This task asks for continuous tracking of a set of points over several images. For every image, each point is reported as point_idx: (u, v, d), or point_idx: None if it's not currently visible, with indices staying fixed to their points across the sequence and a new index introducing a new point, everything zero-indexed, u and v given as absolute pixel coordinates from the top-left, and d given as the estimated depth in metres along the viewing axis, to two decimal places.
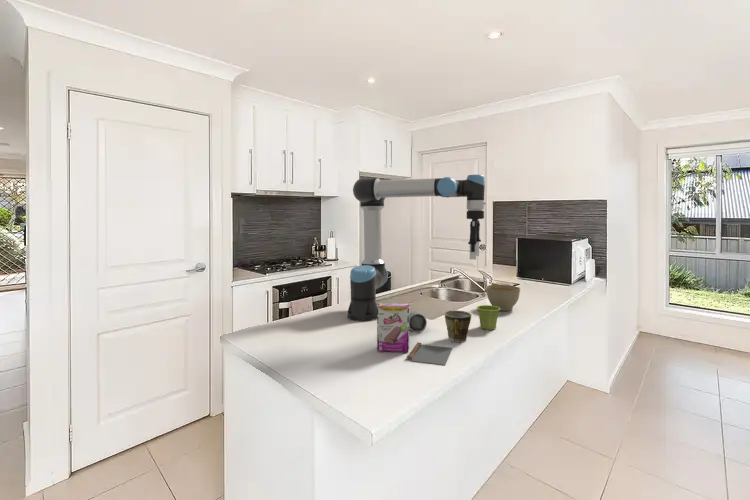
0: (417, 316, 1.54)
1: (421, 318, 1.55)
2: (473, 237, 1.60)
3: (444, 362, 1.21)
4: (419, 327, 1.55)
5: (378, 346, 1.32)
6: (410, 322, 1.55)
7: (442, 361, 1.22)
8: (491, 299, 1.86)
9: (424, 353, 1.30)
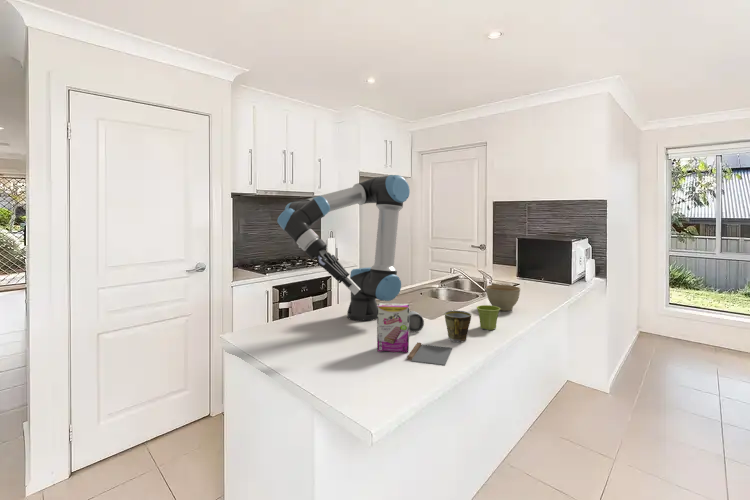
0: (414, 316, 1.54)
1: (418, 318, 1.55)
2: None
3: (444, 362, 1.21)
4: (416, 327, 1.55)
5: (378, 346, 1.32)
6: None
7: (442, 361, 1.22)
8: (491, 299, 1.86)
9: (424, 353, 1.30)
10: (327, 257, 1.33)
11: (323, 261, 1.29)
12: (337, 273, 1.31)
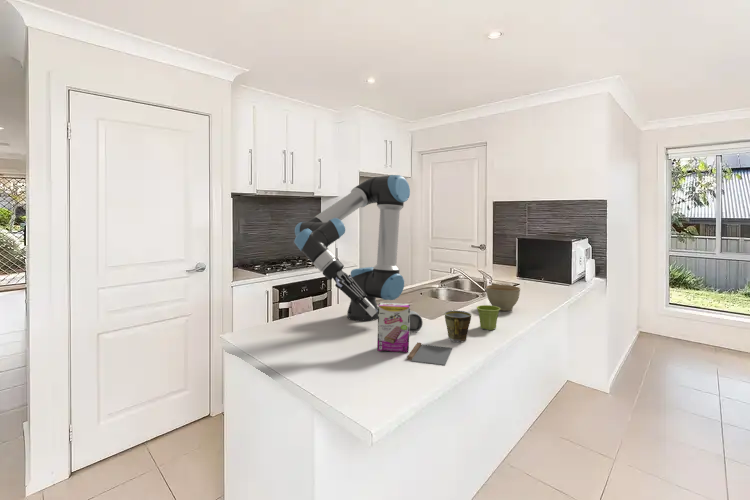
0: (413, 316, 1.54)
1: (417, 318, 1.55)
2: None
3: (444, 362, 1.21)
4: (415, 327, 1.55)
5: (378, 345, 1.32)
6: None
7: (442, 361, 1.22)
8: (491, 299, 1.86)
9: (424, 353, 1.30)
10: (344, 278, 1.32)
11: (341, 283, 1.28)
12: (355, 295, 1.30)
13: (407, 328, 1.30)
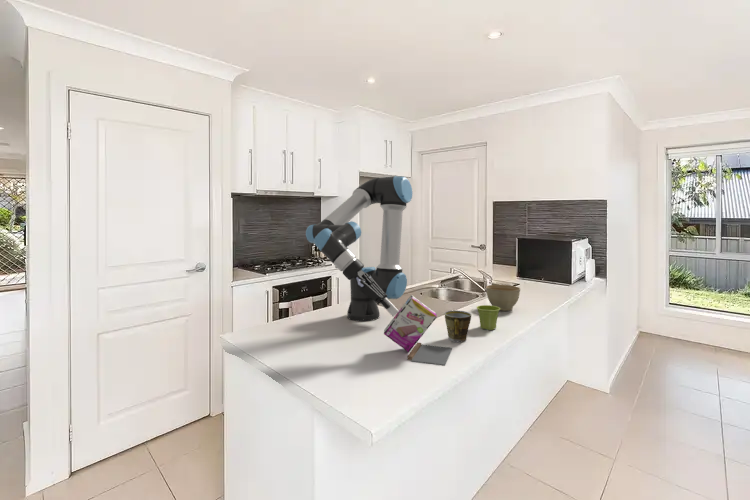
0: None
1: None
2: None
3: (444, 362, 1.21)
4: None
5: (387, 330, 1.31)
6: None
7: (442, 361, 1.22)
8: (491, 299, 1.86)
9: (424, 353, 1.30)
10: (365, 278, 1.31)
11: (362, 283, 1.27)
12: (376, 295, 1.28)
13: (422, 332, 1.30)
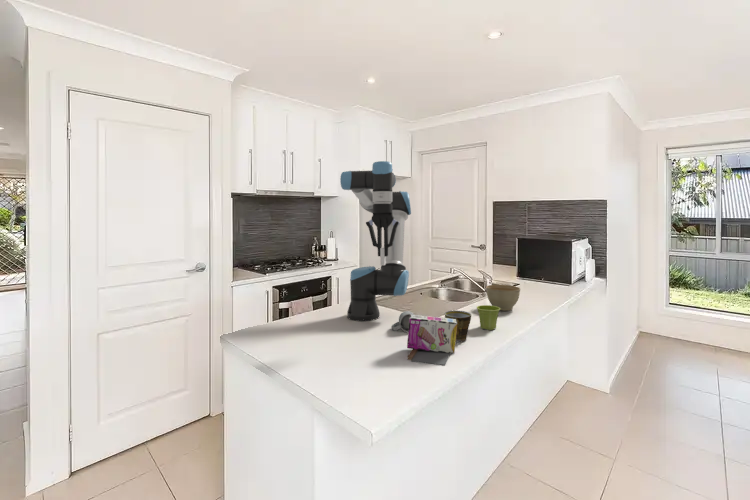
0: (409, 316, 1.54)
1: None
2: None
3: (444, 362, 1.21)
4: None
5: (414, 320, 1.29)
6: (402, 322, 1.55)
7: (442, 361, 1.22)
8: (491, 299, 1.86)
9: (424, 353, 1.30)
10: None
11: (398, 224, 1.44)
12: (393, 240, 1.45)
13: (432, 349, 1.30)
